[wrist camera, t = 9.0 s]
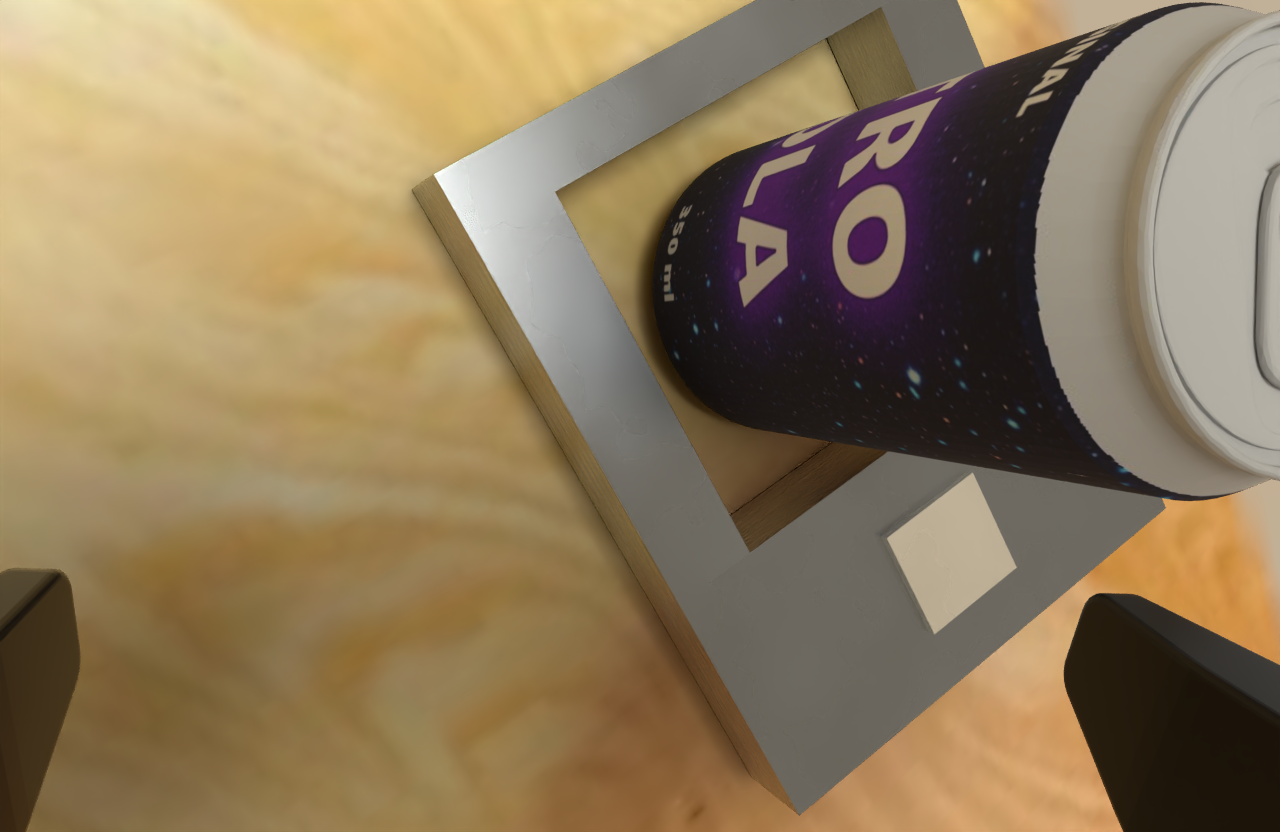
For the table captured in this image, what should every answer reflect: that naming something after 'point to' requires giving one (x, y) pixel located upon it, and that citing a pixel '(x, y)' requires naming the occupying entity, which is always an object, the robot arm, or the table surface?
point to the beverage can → (1011, 265)
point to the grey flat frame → (808, 496)
